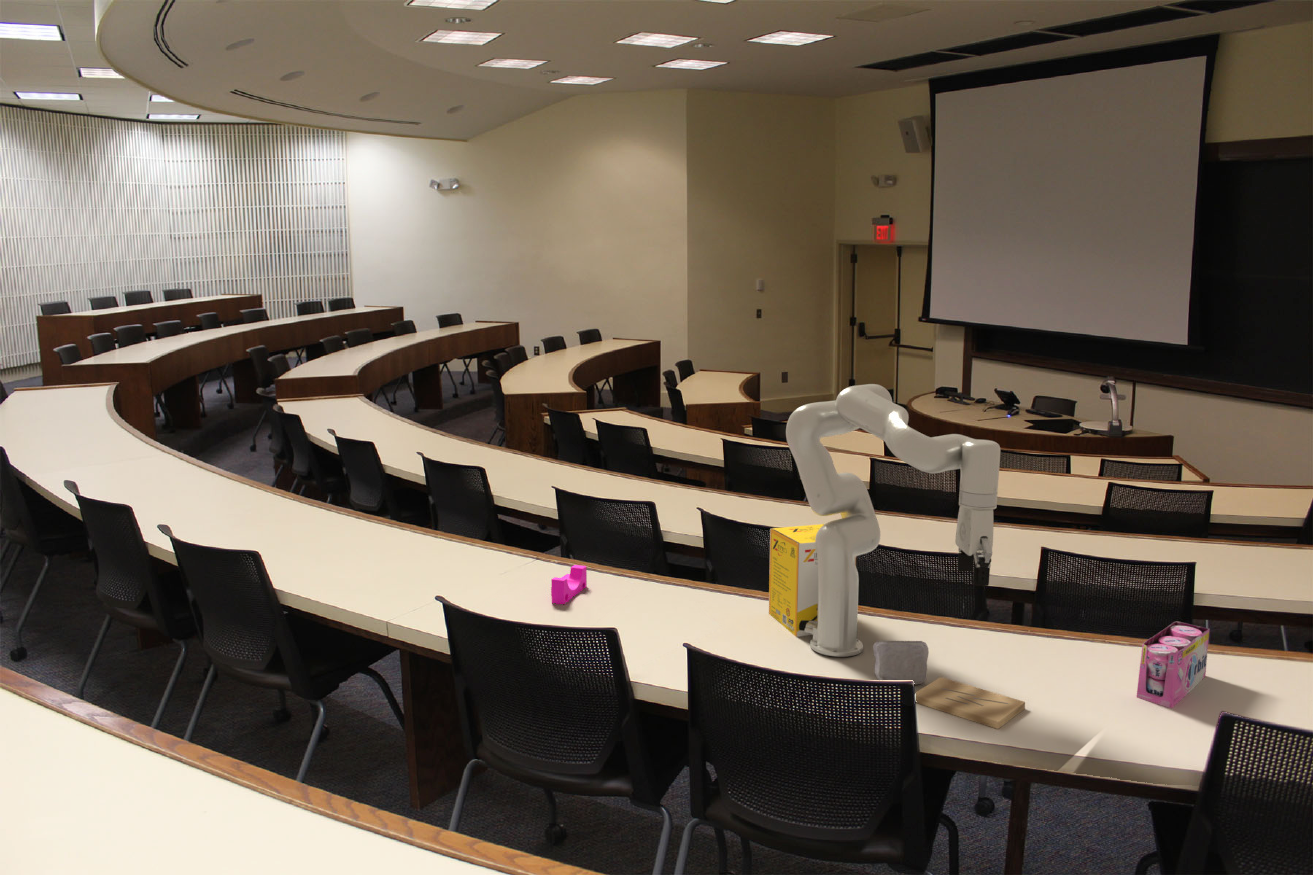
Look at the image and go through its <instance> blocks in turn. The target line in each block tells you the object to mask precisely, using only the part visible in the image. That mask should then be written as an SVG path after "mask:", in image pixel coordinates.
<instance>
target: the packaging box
mask: <svg viewBox="0 0 1313 875" xmlns="http://www.w3.org/2000/svg"><path fill="white" fill-rule="evenodd" d="M824 524H825V523H820V524H819V523H818V524H808V525H796V526H786V527H784V526H783V527H772V528H770V529H769V533H770V534H769V575H768V576H769V581H768V585H769V586H768V588H769V589H768V615H770V616H771V617H772V618H773V619H774V620H775V621H777V623H778V624H780V625H781V626H783V627H784V628H785V629H786V630H787V631H788V632H790V633H791V634H792V635H793V636H794V637H795V638H799V637H804V636H805V637H806V636H811V635H812V634H809V633H806V632H805V628H806V624H807V623H808V622H810V623H814V624H816V625H817V613H818V558H817V552H816V546H815V538H816V534H817V532H818V530H819V529H820V528H821V527H822V526H823V525H824ZM854 563H855V566H856V567H857V556H856V557H854ZM812 636H813V635H812Z"/></svg>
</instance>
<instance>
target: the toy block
mask: <svg viewBox="0 0 1313 875" xmlns="http://www.w3.org/2000/svg"><path fill="white" fill-rule="evenodd" d="M587 574H588V572H587V565H582V564H581V565H579V564H574V565H572V566H571V567H570V572H569V573H566V574H565V575H563V576H561V577H553V578H551V587H550V592H551V594H550V595H551V596H552V597H551V596H550V597H551V604H552V603H556V604H555V605H559V604H565V603H566V602H567V603H568V602H570V601H571V600H572V599H573V598H574V597H576V596H577V595H578V594H580V591H581V592H582V591H583V590H584V589H585V588H587V584H588V583H587V581H588V580H587V577H588V576H587ZM583 588H584V589H583ZM576 594H577V595H576ZM575 595H576V596H575ZM573 596H574V597H573ZM572 597H573V598H572ZM570 599H571V600H570ZM569 600H570V601H569ZM567 603H566V604H567ZM566 604H565V605H566Z"/></svg>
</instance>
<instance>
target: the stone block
mask: <svg viewBox="0 0 1313 875" xmlns="http://www.w3.org/2000/svg"><path fill="white" fill-rule="evenodd" d="M872 648H873V656H874V659H875V662H874V674H875V676H876V679H878V681H880V680H913V681H914V683H915V685H914V686H916V685H920V684H922V685H923V683H925V681H926V679H927V671H928V658H929V654H930V653H929V647H928V644H927V643H926V641H923V640H878V641H875V643H874V644H873V646H872Z"/></svg>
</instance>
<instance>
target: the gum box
mask: <svg viewBox="0 0 1313 875" xmlns="http://www.w3.org/2000/svg"><path fill="white" fill-rule="evenodd" d="M1209 638H1210V628H1208V627H1207V628H1206V627H1203V626H1198V625H1195V624H1190V623H1186V622H1181V621H1173V622H1172V623H1171V624H1169V625H1167V627H1165V628H1164V629H1163V630H1161V631H1159V632H1158V633H1156V634H1155V635H1153V636H1152V637H1150V638H1149V639H1147V640H1145V641H1144V642H1143V643H1142V644H1141V656H1140V663H1139V670H1138V671H1139V672H1138V679H1137V681H1138V682H1137V687H1136V688H1137V690H1136V698H1138V699H1140V700H1144V701H1147V702H1149V703H1153V704H1157V705H1160V706H1162V707H1166V708H1169V709H1173V708H1174V707H1175V706H1176V705H1177V704H1178V703H1179V702H1180V701H1181V700H1182V699H1183V698H1185V697H1186V696H1187V695H1188V694H1189V693H1190V692H1191V691H1192V690H1193V689H1194V688H1195V687H1196V686H1197V685H1198V684H1200V683H1201V681H1202V680H1203V679H1204V678H1205V677H1206V673H1207V664H1208V663H1207V661H1208V651H1209V650H1208V649H1209Z"/></svg>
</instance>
